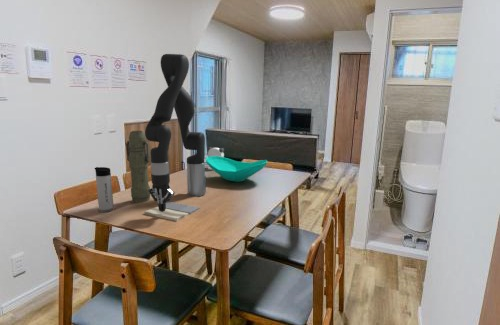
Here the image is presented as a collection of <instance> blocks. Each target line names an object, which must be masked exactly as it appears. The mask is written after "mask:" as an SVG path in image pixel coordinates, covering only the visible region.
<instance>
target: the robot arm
mask: <svg viewBox="0 0 500 325" xmlns="http://www.w3.org/2000/svg"><path fill="white" fill-rule="evenodd" d="M189 61H190V60H189V59H188V56H186V55H185V54H181V53H179V54H177V53H164V54H162V55H161V58H160V69H161V72H162V75H163V77H164V80H165V82H166V85H167V87H166V89H164V91H162V93H161V94H160V96H159V97H158V99H157V102H156V106H155V110H154V113H153V114H152V115H151V118H150V119H149V121H148V122H147V125H146V127H145V129H144V130H145V131H144V135H145V138H146V141H148V142H157V143H158V146H156V147H153V148H150V175H151V176H150V178H151V179H150V180H151V184H152V186H151V188H150V189H149V190H148V191H149V193H150V197H152V199H153V201H154V202H157V203H158V205H157V207H158V206H159V211H161V212H163V211H165V210H166V203H167V202H171V199H172V198H173V197H174V195H175V194H176V193H175V191H174V190H173V191H172V190H171V187H170V181H171V178H170V164H169V149H170V148H169V147H170V144H171V140H172V131H171V129H170V127H169V126H168V125H166V124H164V123H168V122H169V121H171V119H172V115H173V113H174V112H173V111H175V115H176V119H177V121H178V126H179V132H180V135H181V140H182V145H183V148H185V150H190V151H196V153H195V154H193V155H189V156H187V158H186V177H187V178H186V180H187V181H186V182H187V183H186V185H187V195H188V196H190V197H202V196H205V194H206V193H207V189H206V188H207V185H206V184H207V183H206V177H207V176H206V173H205V172H206V171H205V170H206V169H205V159H206V158H205V156H206V154H205V151H206V137H205V134H204V133H203V132H197V131H190V128H189V126H190V124H191V122H192V119H193V117H194V116H195V112H196V109H195V105H194V102H193V98H192V95H191V94H190V93H189V92H188V91H187V90H186V89H185V88H184V86H183V85H184V82H185V80H186V79H187V75H188V73H189V68H190V63H189Z"/></svg>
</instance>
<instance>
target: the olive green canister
mask: <svg viewBox="0 0 500 325" xmlns="http://www.w3.org/2000/svg"><path fill="white" fill-rule="evenodd" d="M125 147H126V148H125V150H126V160H127V161H128V164H129V165H128V166H129V168H130V178H131V180H130V182H131V188H130V194H131V195H130V196H131V202H132V204H135V203H144V202H149V201H150V200H151V194H150V193H149V191H148V190H149V189H151V188H150V187H151V186H150V185H149V170H148V168H149V163H151V154H150V152H151V148H150V143H149V140H147V138H146V136H145V131H143V130H132V131H130V132H129V134H128V140H127V141H126V143H125Z"/></svg>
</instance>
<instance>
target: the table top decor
mask: <svg viewBox="0 0 500 325" xmlns="http://www.w3.org/2000/svg"><path fill="white" fill-rule="evenodd" d="M205 162H206V164H207V165H208V167H211V168H212V169H213V170H212V171H214V172H215V173H216V174H218V175H219V176H220V177H221V178H223V179H224V180H226V181H229V182H234V183H235V182H238V183H239V182H240V183H241V182H244V181H246V180H247V179H249V178H250V177H252V176H254V175H255V174H257V173H258V172H260V171H261V170H263V169H264V168H265V167H266V166H267V164H268V160H267V159H262V160H261V159H260V160H256V161H253V162H247V161H246V162H245V161H237V160H234V159H231V158H228V157H225V156H224V157H219V156H210V157H208V156H207V157H206V158H205Z"/></svg>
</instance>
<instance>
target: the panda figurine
mask: <svg viewBox="0 0 500 325" xmlns="http://www.w3.org/2000/svg"><path fill="white" fill-rule="evenodd" d="M207 151H208V152H207V157H210V156H219V157H224V158H225V153H224V151H225V148H224V147H221V148H219V147H213V146H210V147H209V146H208V147H207ZM207 170H211V171H214V170H213V169H212V168H211V167H210V166H208V167H207Z"/></svg>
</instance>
